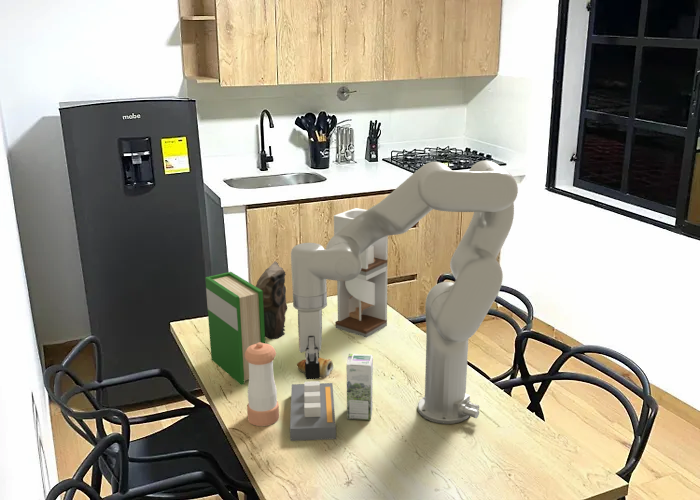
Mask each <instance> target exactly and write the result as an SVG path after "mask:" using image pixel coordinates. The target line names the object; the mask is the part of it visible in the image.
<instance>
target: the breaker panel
mask: <svg viewBox="0 0 700 500" xmlns="http://www.w3.org/2000/svg"><path fill="white" fill-rule="evenodd" d="M290 391H291V393H290V394H291V395H290V399H291V400H290V423H289V425H290V426H289V435H290V437H289V439H290V442H295V441H320V440H337V433H336V432H337V428H336V412H335V401H334V385H333V382H324V383H321V382H320V406H321V417H305V411H304V403H305V399H304V392H305V388H304V383H298V384H296V383H295V384H293V383H292V384H291V390H290Z"/></svg>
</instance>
